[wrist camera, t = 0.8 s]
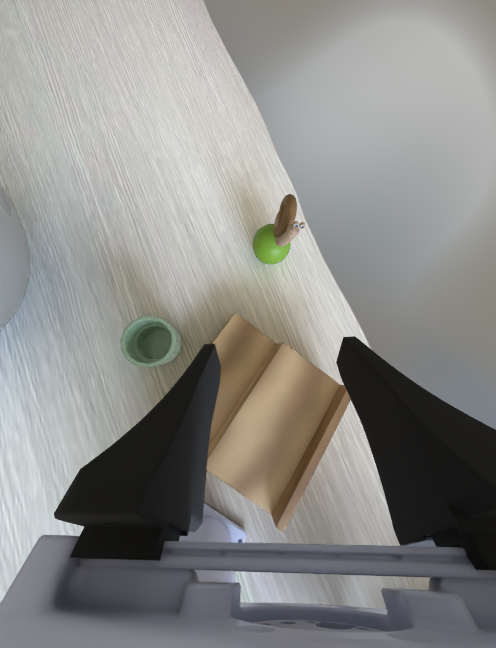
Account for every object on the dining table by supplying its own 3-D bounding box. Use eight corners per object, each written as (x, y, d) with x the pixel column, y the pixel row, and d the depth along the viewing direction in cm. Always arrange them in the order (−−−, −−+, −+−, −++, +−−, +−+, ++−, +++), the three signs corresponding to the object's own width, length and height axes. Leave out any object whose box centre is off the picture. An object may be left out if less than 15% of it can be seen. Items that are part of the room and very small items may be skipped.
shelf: (159, 414, 24) (140, 434, 18) (233, 316, 28) (239, 304, 22) (265, 488, 25) (283, 532, 19) (324, 383, 29) (355, 391, 23)
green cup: (163, 373, 25) (152, 377, 20) (129, 348, 25) (108, 346, 20) (190, 339, 26) (185, 335, 22) (157, 315, 26) (145, 306, 21)
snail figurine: (249, 274, 30) (273, 221, 18) (250, 236, 31) (273, 163, 19) (282, 277, 31) (325, 229, 19) (282, 241, 32) (323, 173, 20)
